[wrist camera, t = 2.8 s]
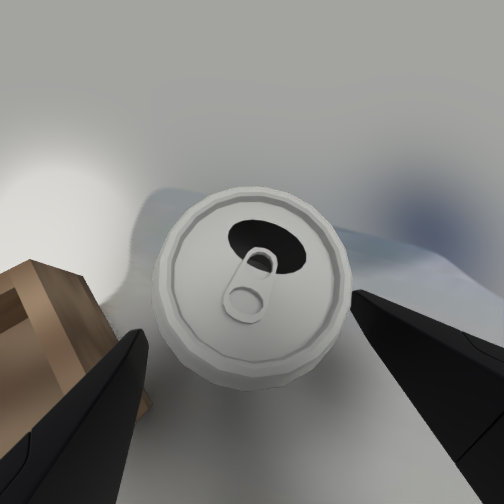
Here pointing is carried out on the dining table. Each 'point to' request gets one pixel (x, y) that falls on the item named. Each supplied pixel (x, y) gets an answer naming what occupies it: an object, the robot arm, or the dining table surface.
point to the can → (251, 288)
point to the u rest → (46, 344)
